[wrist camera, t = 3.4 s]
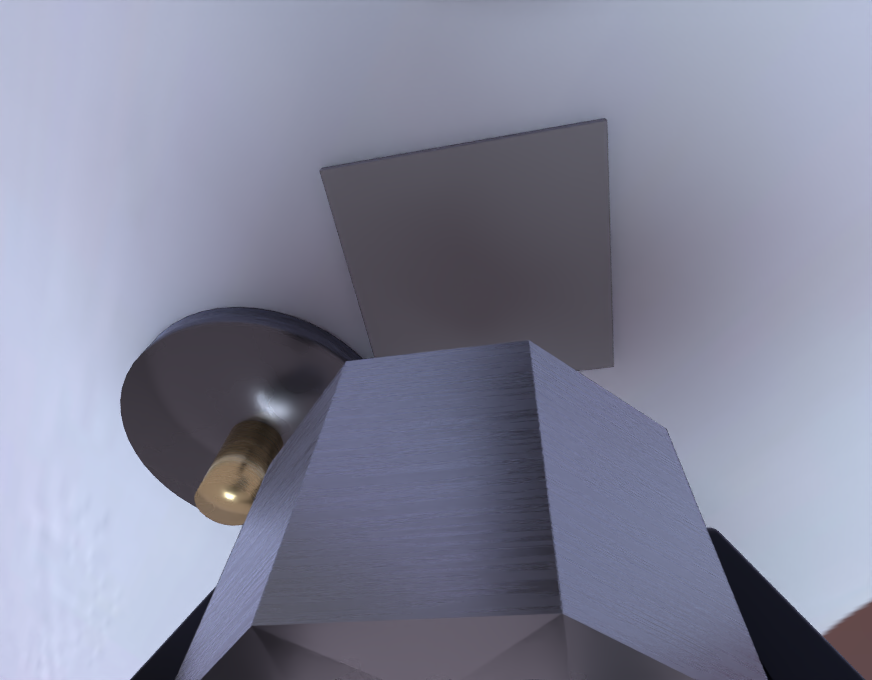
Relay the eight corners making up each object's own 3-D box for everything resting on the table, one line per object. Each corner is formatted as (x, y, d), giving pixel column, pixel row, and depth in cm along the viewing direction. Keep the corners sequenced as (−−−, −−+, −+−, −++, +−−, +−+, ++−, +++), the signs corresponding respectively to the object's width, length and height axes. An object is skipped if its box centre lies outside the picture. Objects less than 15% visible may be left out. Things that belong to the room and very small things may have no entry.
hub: (418, 499, 24) (407, 590, 20) (201, 515, 25) (154, 602, 22) (357, 289, 18) (327, 362, 15) (88, 326, 20) (3, 400, 16)
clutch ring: (659, 605, 11) (739, 887, 7) (343, 617, 12) (287, 871, 8) (671, 322, 7) (821, 602, 4) (227, 374, 9) (61, 632, 5)
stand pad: (611, 361, 19) (613, 366, 19) (385, 386, 20) (384, 391, 20) (605, 118, 15) (607, 120, 15) (322, 168, 16) (319, 170, 16)
